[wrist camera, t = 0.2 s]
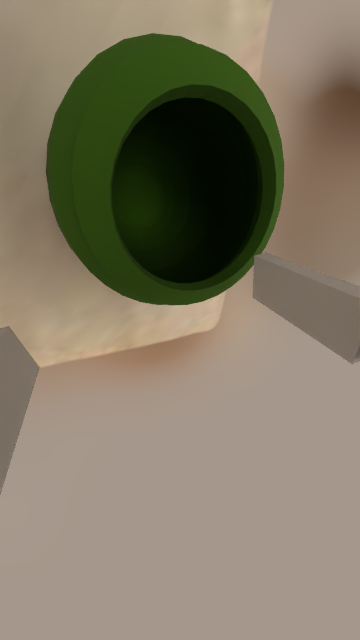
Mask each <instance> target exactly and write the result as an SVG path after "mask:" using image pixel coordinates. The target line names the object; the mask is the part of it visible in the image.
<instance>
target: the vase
mask: <svg viewBox="0 0 360 640" xmlns="http://www.w3.org/2000/svg"><path fill="white" fill-rule="evenodd" d="M46 175H47V183H48V190H49V197H50V202H51V205H52V208H53V211H54V214H55V217H56V220H57V223H58V225H59V227H60V229H61V231H62V233H63V235H64V237H65V238H66V240H67V242H68V244H69V246H70V247H71V249H72V250H73V251H74V252H75V254H76V255H77V256H78V257H79V259H80V260H81V261H82V262H83V264H84V265H85V266H86V267H87V268H88V270H89V271H90V272H91V273H92V274H94V275H95V276H96V277H97V278H98V279H99V280H100V281H102V282H103V283H104V284H105V285H106V286H108V287H110V288H111V289H113V290H115V291H116V292H118V293H120V294H121V295H123V296H126V297H128V298H131V299H134V300H137V301H139V302H144V303H150V304H157V305H166V304H167V305H188V304H193V303H197V302H202V301H205V300H207V299H210V298H212V297H215V296H217V295H219V294H220V293H222V292H224V291H225V290H227V289H228V288H230V287H231V286H233V285H234V284H235V283H236V282H237V281H239V280H240V279H241V278H242V277H243V276H244V275H245V274H246V273H247V272H248V271H249V269H250V268H251V267H252V266H253V265H254V256H255V255H258V254H261V253H262V252H263V250H264V248H265V247H266V245H267V243H268V240H269V238H270V236H271V234H272V232H273V230H274V227H275V223H276V220H277V217H278V214H279V211H280V206H281V200H282V193H283V186H284V159H283V151H282V142H281V138H280V134H279V131H278V127H277V124H276V120H275V117H274V114H273V112H272V110H271V108H270V106H269V104H268V102H267V100H266V98H265V96H264V94H263V92H262V91H261V90H260V88H259V87H258V86H257V84H256V83H255V82H254V80H253V79H252V78H251V76H250V75H249V74H248V73H247V71H245V70H244V69H243V68H242V67H240V66H239V65H238V64H237V63H235V62H234V61H233V60H232V59H230V58H229V57H228V56H227V55H225V54H223V53H220V52H218V51H216V50H213V49H211V48H209V47H207V46H204V45H202V44H197V43H195V42H192V41H190V40H188V39H186V38H183V37H181V36H172V35H163V34H153V33H152V34H147V35H142V36H138V37H133V38H128V39H124V40H122V41H120V42H118V43H117V44H115V45H113V46H112V47H110V48H108V49H106V50H105V51H103V52H101V53H99V54H98V55H97V56H96V57H95V58H94V59H93V60H92V61H91V62H90V63H89V64H88V65H87V66H86V67H85V68H84V69H83V71H82V72H81V73H80V74H79V75H78V76H77V77H76V78H75V80H74V81H73V83H72V84H71V86H70V88H69V89H68V91H67V93H66V95H65V97H64V99H63V100H62V102H61V104H60V106H59V108H58V110H57V112H56V114H55V117H54V121H53V124H52V128H51V132H50V135H49V139H48V144H47V163H46Z"/></svg>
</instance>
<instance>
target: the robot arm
mask: <svg viewBox="0 0 360 640" xmlns="http://www.w3.org/2000/svg"><path fill="white" fill-rule="evenodd" d="M253 298H254V299H256V300H257V301H259V302H260V303H262V304H263V305H265V306H267V307H268V308H269V309H271V310H272V311H274V312H275V313H277V314H278V315H280V316H282V317H283V318H285V319H286V320H288V321H289V322H290V323H292V324H293V325H295V326H296V327H298V328H299V329H301V330H302V331H304V332H305V333H307V334H308V335H310V336H311V337H313V338H314V339H316V340H317V341H319V342H320V343H322V344H323V345H325V346H326V347H327V348H329V349H330V350H332V351H334V352H335V353H337V354H338V355H340V356H341V357H342V358H344V359H345V360H347V361H348V362H350V363H352V364H354V363H356V362H358V361H360V286H358V285H355V284H352V283H350V282H347V281H344V280H341V279H338V278H335V277H333V276H330V275H327V274H324V273H322V272H319V271H316V270H313V269H310V268H308V267H305V266H302V265H299V264H297V263H294V262H291V261H288V260H285V259H282V258H280V257H277V256H274V255H271V254H269V253H262V254H258V255H255V256H254V279H253ZM39 368H40V367H39V366H38V365H37V363H36V362H35V361H34V359H33V358H32V357H31V355H30V354H29V353H28V351H27V350H26V348H25V347H24V346H23V344H22V343H21V342H20V340H19V339H18V338H17V336H16V335H15V334H14V332H13V331H12V330H11V328H10V327H9V326H7V327H4V328H0V494H1V490H2V487H3V484H4V481H5V477H6V474H7V471H8V468H9V464H10V461H11V458H12V455H13V452H14V448H15V445H16V442H17V439H18V435H19V432H20V429H21V426H22V423H23V419H24V416H25V413H26V410H27V407H28V403H29V400H30V397H31V394H32V390H33V387H34V384H35V381H36V377H37V374H38V371H39Z"/></svg>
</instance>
